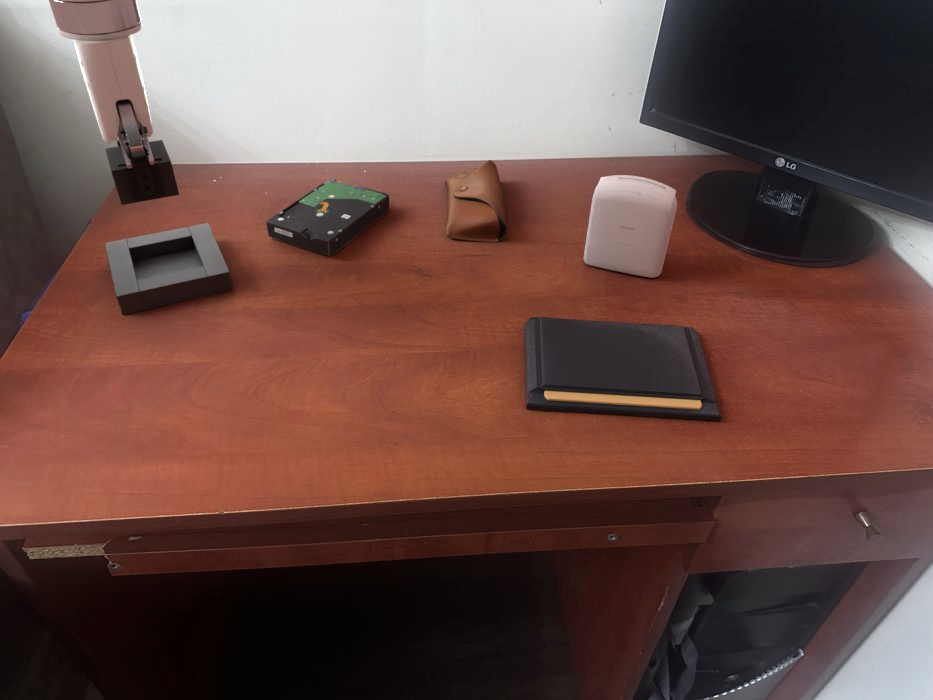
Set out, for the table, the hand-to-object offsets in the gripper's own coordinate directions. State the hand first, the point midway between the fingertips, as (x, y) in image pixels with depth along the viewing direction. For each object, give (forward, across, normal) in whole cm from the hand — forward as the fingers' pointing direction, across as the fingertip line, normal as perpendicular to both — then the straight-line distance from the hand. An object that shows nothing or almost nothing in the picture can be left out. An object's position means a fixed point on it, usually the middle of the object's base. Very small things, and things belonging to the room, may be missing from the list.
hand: (145, 183), depth 79 cm
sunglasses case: (+13, 0, +42) cm, 44 cm away
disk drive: (+13, -4, +22) cm, 26 cm away
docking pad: (+12, 0, 0) cm, 12 cm away
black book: (+13, +37, +40) cm, 56 cm away
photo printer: (+13, +21, +53) cm, 58 cm away
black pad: (+1, 0, 0) cm, 1 cm away
